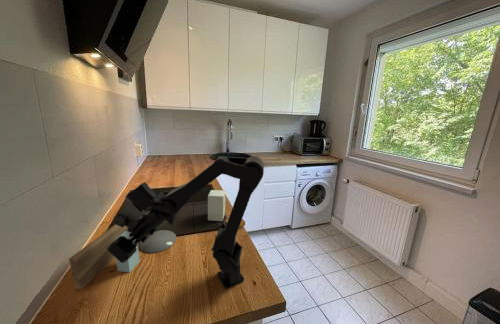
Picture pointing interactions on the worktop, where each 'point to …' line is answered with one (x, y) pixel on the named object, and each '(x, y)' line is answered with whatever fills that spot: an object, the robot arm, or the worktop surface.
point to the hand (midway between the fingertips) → (122, 248)
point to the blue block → (132, 260)
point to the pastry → (240, 223)
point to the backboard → (94, 257)
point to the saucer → (158, 241)
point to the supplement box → (216, 205)
